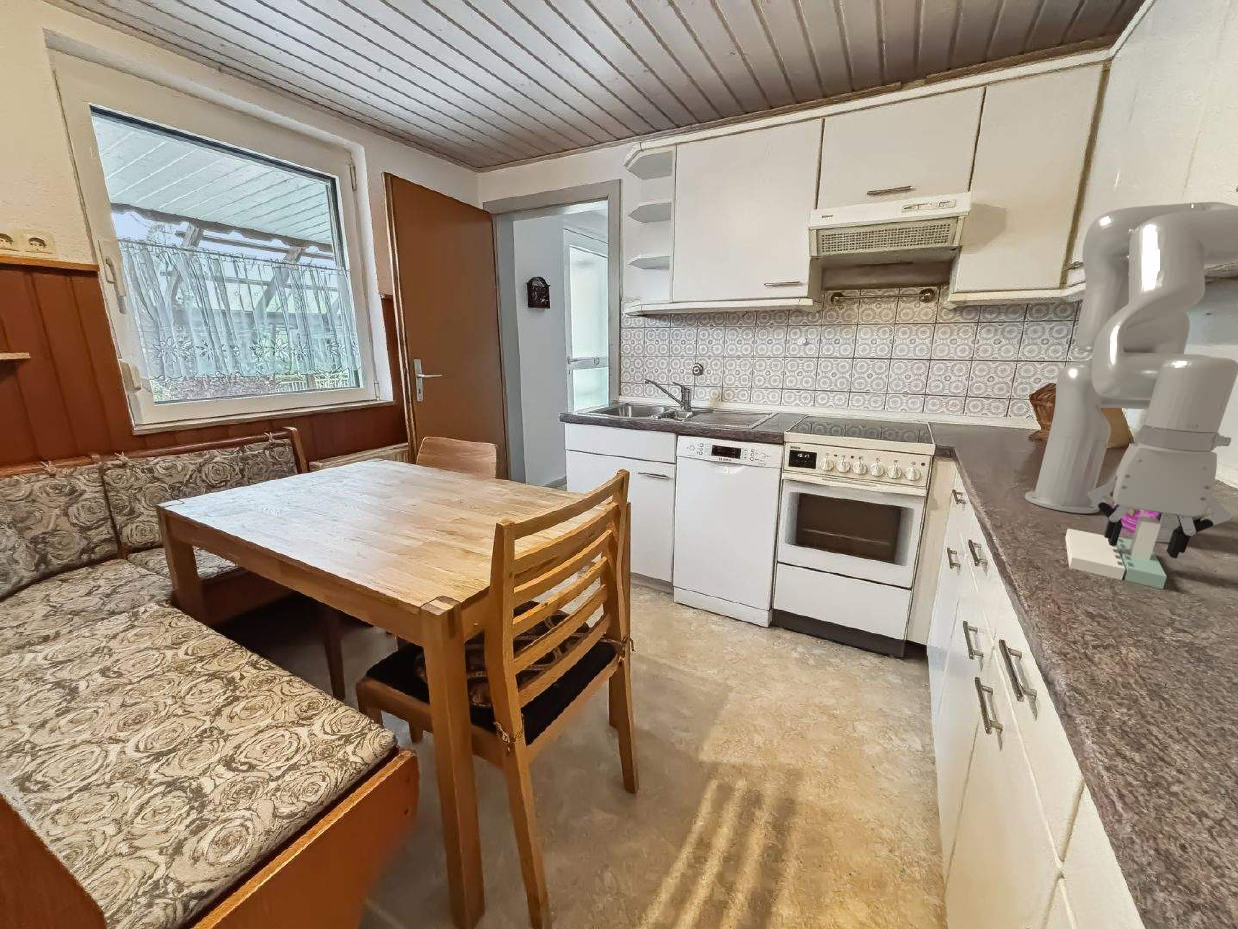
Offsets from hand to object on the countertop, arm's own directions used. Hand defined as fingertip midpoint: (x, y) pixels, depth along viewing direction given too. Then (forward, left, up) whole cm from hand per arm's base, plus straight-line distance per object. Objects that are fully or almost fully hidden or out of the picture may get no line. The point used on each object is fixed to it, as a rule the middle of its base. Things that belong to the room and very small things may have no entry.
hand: (1141, 548), depth 78 cm
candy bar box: (-22, +3, -4) cm, 23 cm away
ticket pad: (0, -5, -3) cm, 6 cm away
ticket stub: (0, 0, -3) cm, 3 cm away
